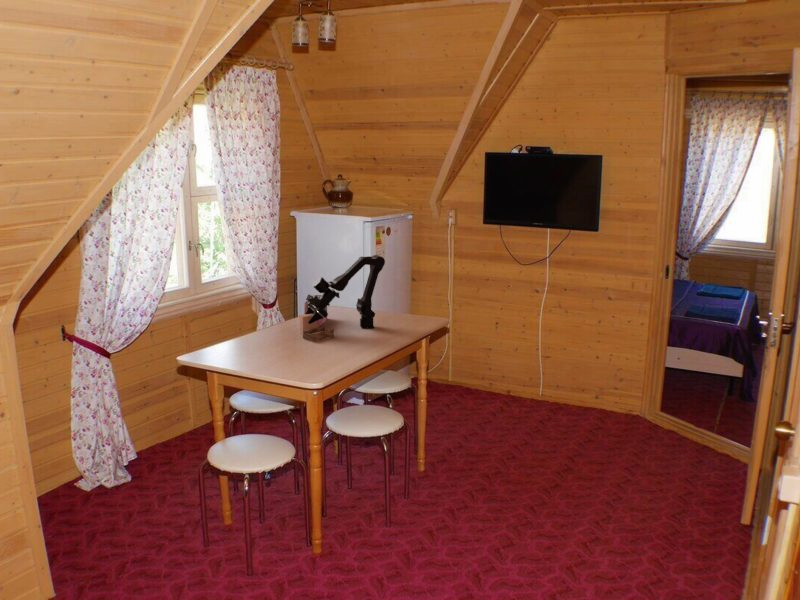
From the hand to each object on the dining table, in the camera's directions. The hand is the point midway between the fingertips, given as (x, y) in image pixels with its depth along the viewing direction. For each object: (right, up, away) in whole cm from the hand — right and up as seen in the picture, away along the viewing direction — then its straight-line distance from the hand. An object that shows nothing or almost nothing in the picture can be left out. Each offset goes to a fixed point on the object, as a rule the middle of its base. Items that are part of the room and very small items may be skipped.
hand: (306, 321), depth 381 cm
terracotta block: (+1, -6, +2) cm, 7 cm away
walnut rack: (+7, -8, -6) cm, 12 cm away
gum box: (+2, -2, +25) cm, 25 cm away
